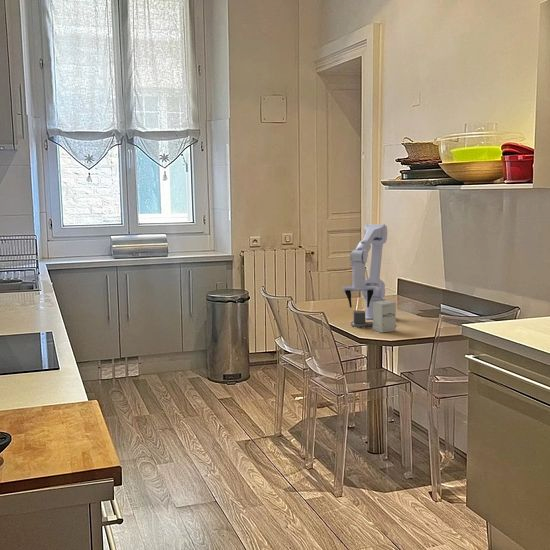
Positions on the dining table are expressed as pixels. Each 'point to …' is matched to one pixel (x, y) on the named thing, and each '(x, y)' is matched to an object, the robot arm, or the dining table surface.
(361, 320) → the dark grey cube
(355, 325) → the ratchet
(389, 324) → the supplement box
